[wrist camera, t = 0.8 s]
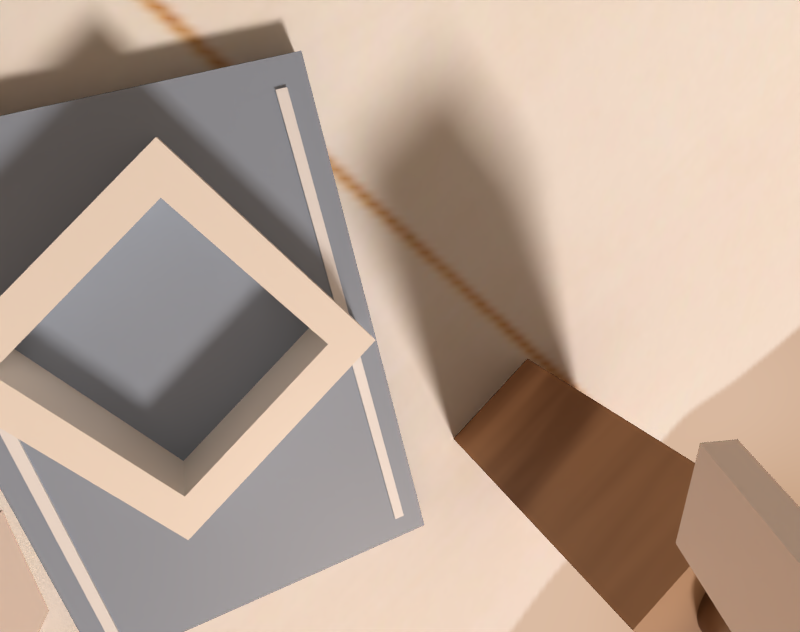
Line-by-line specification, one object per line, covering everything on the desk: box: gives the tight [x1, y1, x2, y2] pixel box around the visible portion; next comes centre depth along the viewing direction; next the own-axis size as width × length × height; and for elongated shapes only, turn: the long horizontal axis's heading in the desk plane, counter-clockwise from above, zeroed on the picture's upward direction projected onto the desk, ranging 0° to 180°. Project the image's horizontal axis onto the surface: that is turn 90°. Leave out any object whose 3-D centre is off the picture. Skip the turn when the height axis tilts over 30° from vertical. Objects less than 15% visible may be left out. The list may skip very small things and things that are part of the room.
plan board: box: [0, 51, 424, 632], centre depth 23 cm, size 20×14×1 cm
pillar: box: [454, 359, 731, 632], centre depth 23 cm, size 5×5×13 cm
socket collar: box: [0, 137, 375, 540], centre depth 20 cm, size 9×9×2 cm
